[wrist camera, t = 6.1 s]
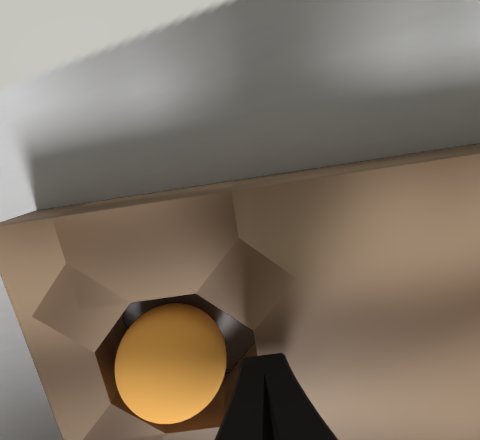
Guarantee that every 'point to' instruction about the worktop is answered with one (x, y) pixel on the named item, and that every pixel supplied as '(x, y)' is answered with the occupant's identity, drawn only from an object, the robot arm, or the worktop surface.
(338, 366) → the hole board
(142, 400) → the ball
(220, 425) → the robot arm
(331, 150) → the worktop surface
